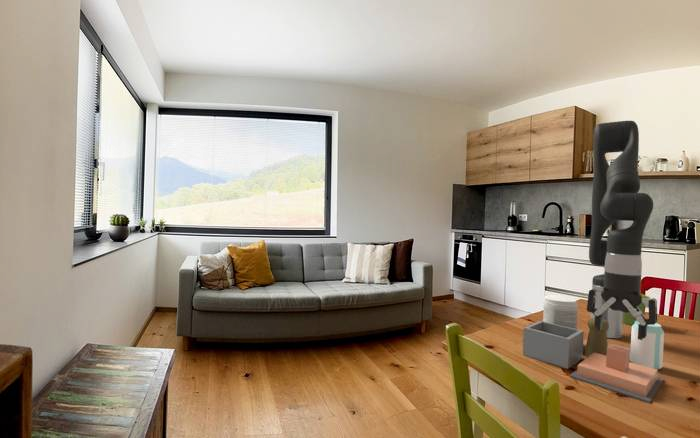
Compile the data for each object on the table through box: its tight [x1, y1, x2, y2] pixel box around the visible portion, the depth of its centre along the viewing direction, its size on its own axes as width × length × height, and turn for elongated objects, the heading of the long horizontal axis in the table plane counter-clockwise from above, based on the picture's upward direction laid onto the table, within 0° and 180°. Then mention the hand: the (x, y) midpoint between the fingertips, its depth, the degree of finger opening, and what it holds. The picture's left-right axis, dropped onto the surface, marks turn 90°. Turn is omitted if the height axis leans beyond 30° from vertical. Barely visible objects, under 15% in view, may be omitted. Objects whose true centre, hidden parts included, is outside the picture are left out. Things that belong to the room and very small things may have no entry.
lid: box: [576, 343, 659, 397], centre depth 93 cm, size 14×14×8 cm
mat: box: [569, 369, 665, 404], centre depth 93 cm, size 18×16×1 cm
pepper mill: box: [584, 317, 609, 357], centre depth 108 cm, size 6×6×11 cm
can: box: [629, 321, 665, 371], centre depth 102 cm, size 7×7×12 cm
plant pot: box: [623, 293, 651, 326], centre depth 143 cm, size 12×12×11 cm
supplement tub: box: [542, 294, 579, 329], centre depth 117 cm, size 10×10×15 cm
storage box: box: [522, 320, 585, 370], centre depth 106 cm, size 12×12×8 cm
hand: (619, 334), depth 93 cm, fingers open, 8 cm apart
